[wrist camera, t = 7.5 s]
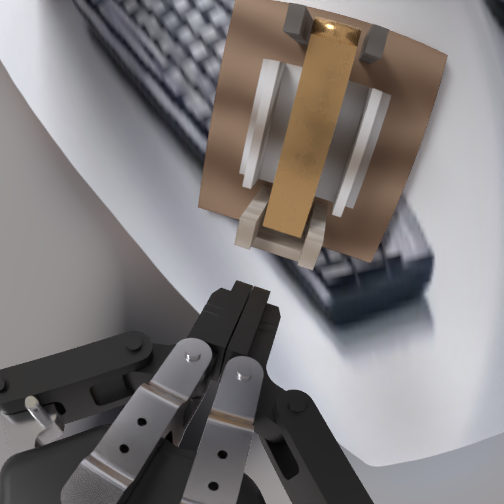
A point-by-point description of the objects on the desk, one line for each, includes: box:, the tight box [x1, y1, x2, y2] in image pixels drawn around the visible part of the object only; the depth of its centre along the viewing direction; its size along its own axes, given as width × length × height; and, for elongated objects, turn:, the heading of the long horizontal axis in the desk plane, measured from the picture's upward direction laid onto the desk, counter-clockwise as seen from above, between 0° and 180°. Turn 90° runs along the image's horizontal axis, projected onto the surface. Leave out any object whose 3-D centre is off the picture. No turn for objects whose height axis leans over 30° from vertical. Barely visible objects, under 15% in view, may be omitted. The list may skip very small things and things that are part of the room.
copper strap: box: [263, 16, 362, 238], centre depth 20 cm, size 16×3×2 cm, turn 166°
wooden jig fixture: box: [198, 0, 448, 270], centre depth 22 cm, size 21×18×9 cm
